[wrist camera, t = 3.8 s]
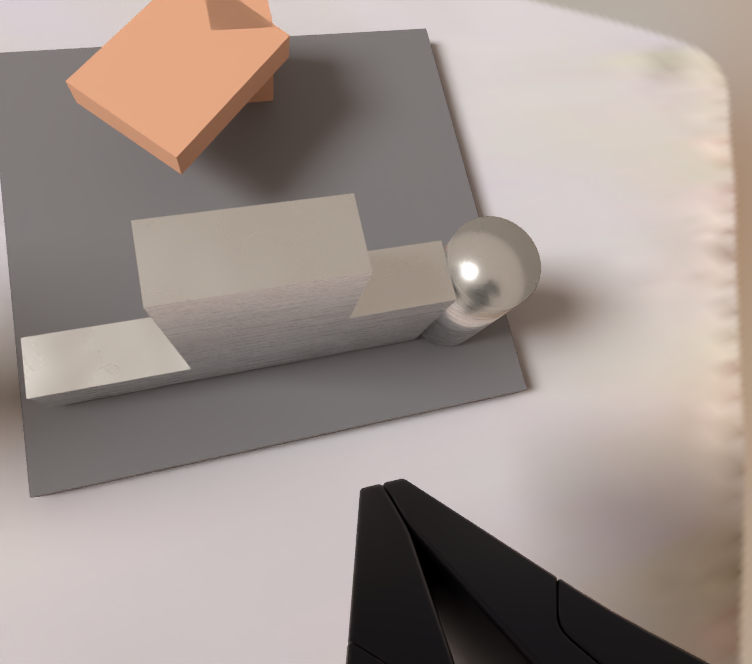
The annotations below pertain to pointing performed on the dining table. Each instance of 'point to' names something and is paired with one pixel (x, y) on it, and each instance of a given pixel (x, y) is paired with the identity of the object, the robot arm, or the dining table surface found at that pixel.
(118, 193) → the board
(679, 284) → the dining table surface
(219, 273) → the link
